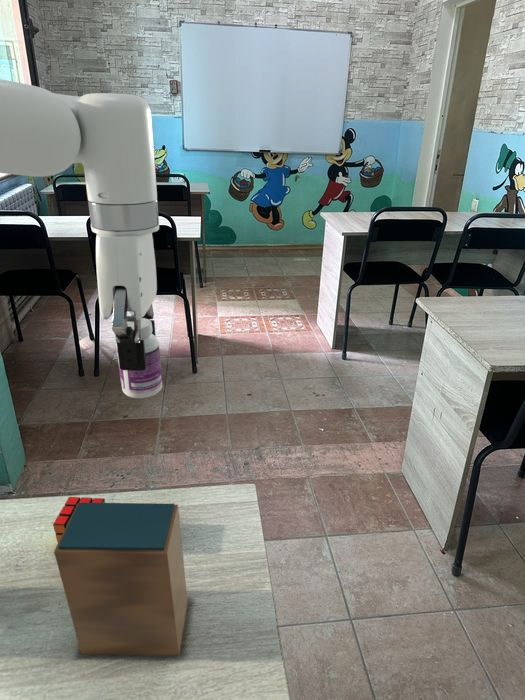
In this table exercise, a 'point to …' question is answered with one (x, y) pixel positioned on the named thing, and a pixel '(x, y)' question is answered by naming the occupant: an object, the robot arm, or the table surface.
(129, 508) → the cloth
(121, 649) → the stand
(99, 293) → the robot arm
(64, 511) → the puzzle toy
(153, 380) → the pill bottle
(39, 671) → the table surface
